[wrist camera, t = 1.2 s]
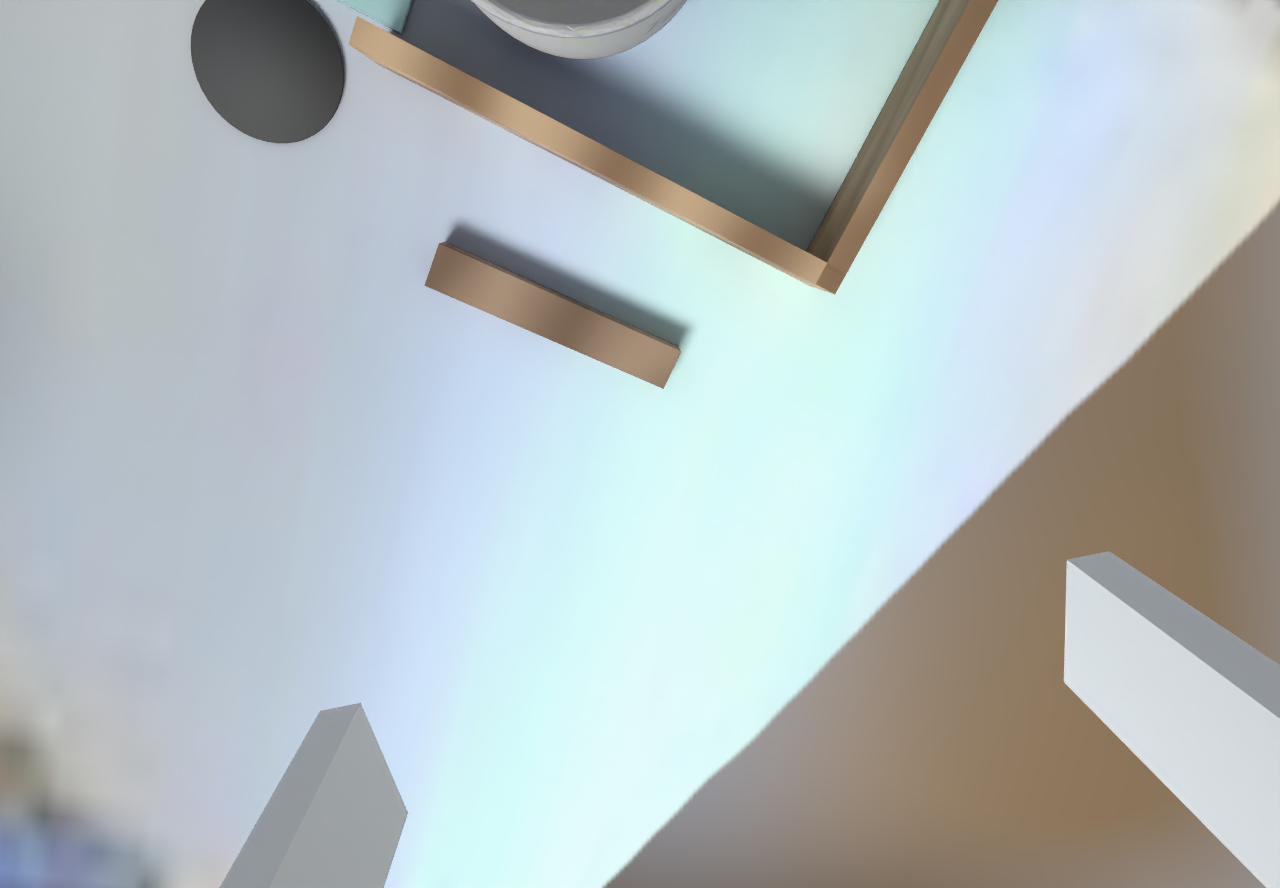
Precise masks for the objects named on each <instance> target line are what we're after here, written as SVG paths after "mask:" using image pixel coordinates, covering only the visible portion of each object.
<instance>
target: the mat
mask: <svg viewBox="0 0 1280 888" xmlns="http://www.w3.org/2000/svg"><path fill="white" fill-rule="evenodd" d="M338 1H340V2H342V3H344V4H346V5H348V6H350V7H352V8H354V9H356V10H357V11H359V12H361V13H363V14H365V15H367V16H369V17H371V18H373V19H375V20H376V21H378V22H380V23H382V24H384V25H386V26H388V27H390V28H392V29H394V30H395V31H397V32H399V33H401V34H402V31H403V28H404V24H405V21H406V18H407V15H408V12H409V9H410V6H411V3H412V0H338Z"/></svg>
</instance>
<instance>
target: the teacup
mask: <svg viewBox="0 0 1280 888" xmlns="http://www.w3.org/2000/svg"><path fill="white" fill-rule="evenodd" d="M470 1H472V2H473V3H475V4H476V6H477V7H478V8H479V9H480V10H481V11H482V12H483V13H484V14H485V15H486V16H487V17H489V18H490V19H491V20H492V21H493V22H494V23H495V24H496V25H498V26H499V27H500V28H501V29H503V30H504V31H505V32H507V33H508V34H509V35H511V36H512V37H514V38H516V39H517V40H519V41H521V42H523V43H524V44H526V45H528V46H530V47H532V48H535V49H537V50H540V51H542V52H545V53H548V54H551V55H555V56H559V57H565V58H573V59H593V58H601V57H607V56H611V55H615V54H618V53H621V52H624V51H626V50H629V49H631V48H633V47H635V46H636V45H638V44H640V43H642V42H644V41H646V40H647V39H649V38H650V37H651V36H653V35H654V34H655V33H657V32H658V31H659V30H660V29H662V28H663V27H664V26H665V25H666V24H667V23H668V22H669V21H670V20H671V19H672V18H673V17H674V16H675V15H676V13H677V12H678V11H679V10H680V9H681V8H682V6H683V5H684V3H685V2H686V1H687V0H470Z"/></svg>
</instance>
